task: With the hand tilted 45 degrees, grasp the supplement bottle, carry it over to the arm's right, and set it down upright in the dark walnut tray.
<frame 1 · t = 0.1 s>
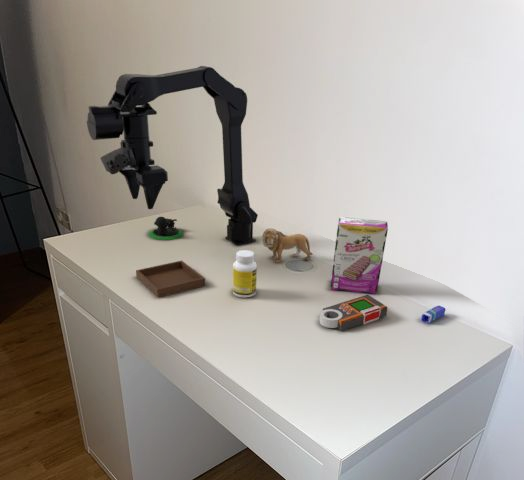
hand: (142, 203, 132), 15 cm above the table, tool pointing down, fingers open, 9 cm apart
eraser: (432, 319, 118), on the table
lion figurine: (286, 260, 143), on the table
tray: (170, 281, 129), on the table
electronic device: (350, 319, 116), on the table
candy bar box: (353, 289, 129), on the table
toy figurine: (166, 234, 156), on the table
supplement bottle: (244, 293, 125), on the table
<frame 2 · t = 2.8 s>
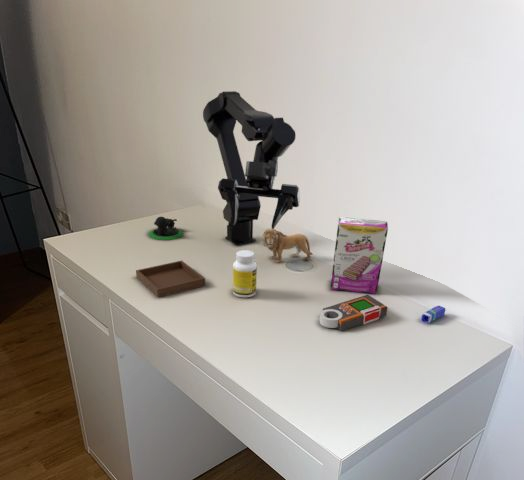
hand: (253, 225, 125), 13 cm above the table, tool tilted 45°, fingers open, 9 cm apart
nothing on the table moved.
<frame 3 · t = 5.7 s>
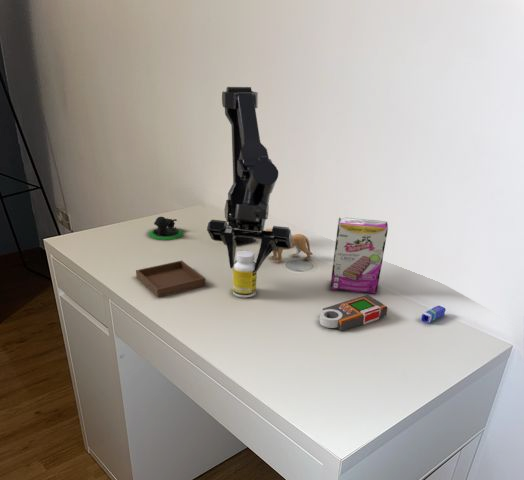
hand: (243, 269, 121), 7 cm above the table, tool tilted 45°, fingers closed on supplement bottle, 5 cm apart
supplement bottle: (244, 293, 125), on the table, touching gripper
everything else where it was.
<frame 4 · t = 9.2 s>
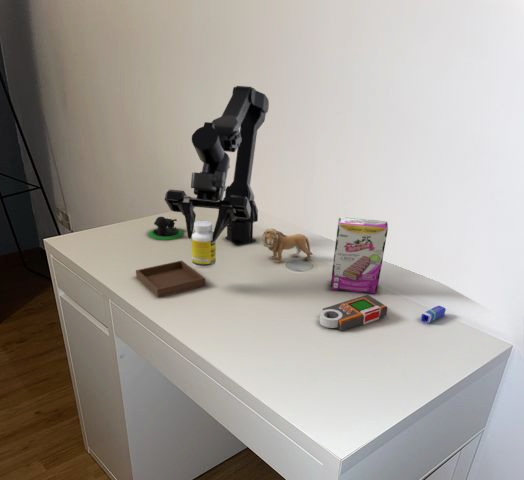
hand: (201, 239, 120), 12 cm above the table, tool tilted 45°, fingers closed on supplement bottle, 5 cm apart
supplement bottle: (204, 265, 125), point 5 cm above the table, touching gripper
everything else where it was.
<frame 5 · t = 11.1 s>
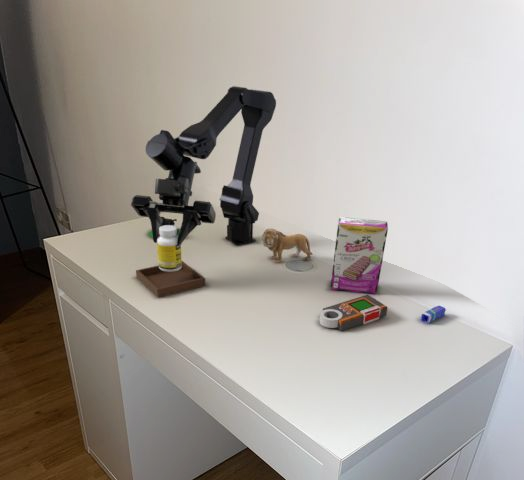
hand: (166, 243, 123), 10 cm above the table, tool tilted 45°, fingers closed on supplement bottle, 5 cm apart
supplement bottle: (170, 268, 128), point 3 cm above the table, touching gripper
everything else where it was.
when the fingers open (7 cm above the table, at t = 12.5 s): supplement bottle stays where it is, resting on tray.
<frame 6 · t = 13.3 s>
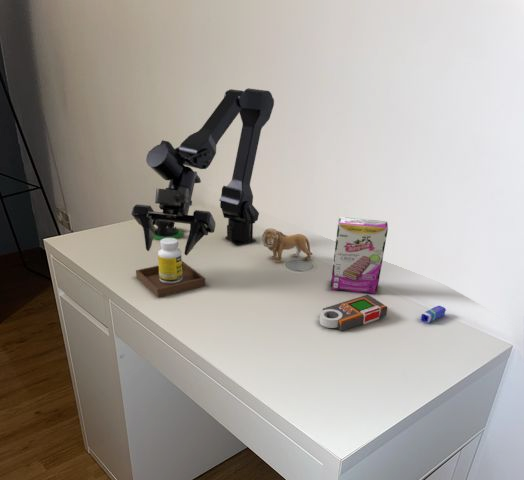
hand: (166, 252, 124), 8 cm above the table, tool tilted 45°, fingers open, 9 cm apart
supplement bottle: (171, 280, 129), resting on tray
everything else where it was.
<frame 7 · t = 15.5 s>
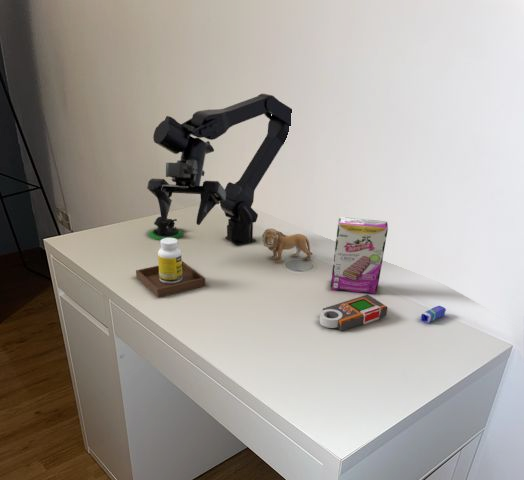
hand: (180, 223, 131), 11 cm above the table, tool tilted 40°, fingers open, 9 cm apart
nothing on the table moved.
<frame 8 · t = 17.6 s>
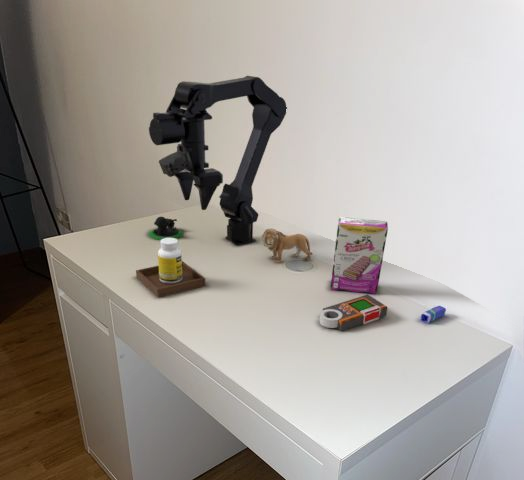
hand: (195, 204, 138), 13 cm above the table, tool pointing down, fingers open, 9 cm apart
nothing on the table moved.
at the end: supplement bottle 0.2 cm off-centre in the tray, point 0.3 cm above the tray's base; supplement bottle tilted 0°; the gripper is holding nothing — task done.
